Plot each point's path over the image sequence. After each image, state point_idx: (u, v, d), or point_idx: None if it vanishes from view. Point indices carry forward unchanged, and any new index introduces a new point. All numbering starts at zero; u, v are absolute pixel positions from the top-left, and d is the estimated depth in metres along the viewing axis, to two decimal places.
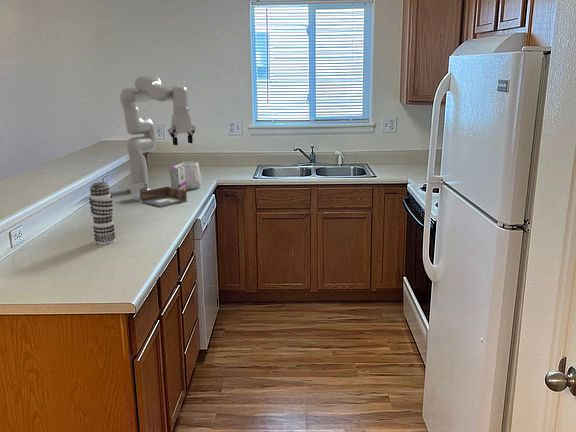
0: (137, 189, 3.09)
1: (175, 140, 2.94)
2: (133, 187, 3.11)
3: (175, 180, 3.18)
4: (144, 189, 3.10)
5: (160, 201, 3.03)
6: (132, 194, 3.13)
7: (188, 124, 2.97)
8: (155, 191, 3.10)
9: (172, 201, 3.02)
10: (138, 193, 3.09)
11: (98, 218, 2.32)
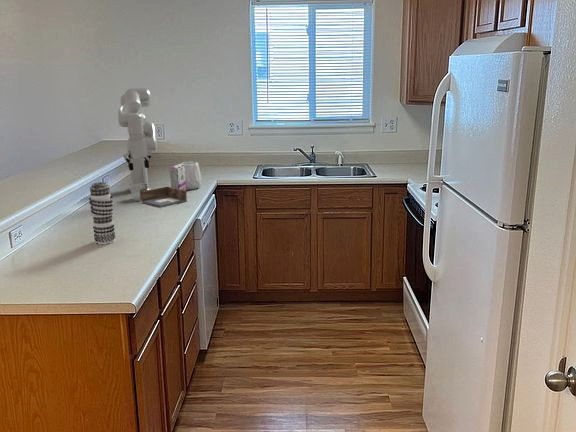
0: (137, 189, 3.09)
1: (131, 165, 3.02)
2: (133, 187, 3.11)
3: (175, 180, 3.18)
4: (144, 189, 3.10)
5: (160, 201, 3.03)
6: (132, 194, 3.13)
7: (144, 149, 3.05)
8: (155, 191, 3.10)
9: (172, 201, 3.02)
10: (138, 193, 3.09)
11: (98, 218, 2.32)
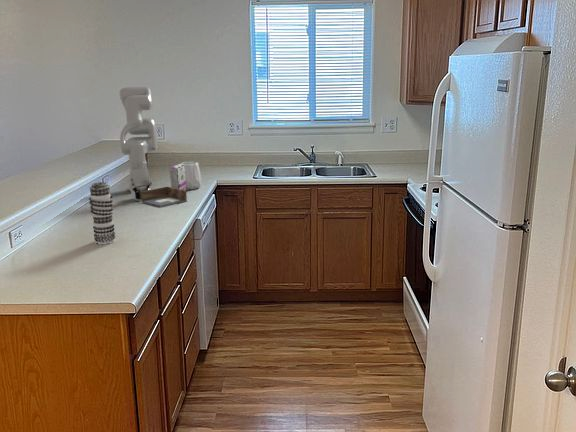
0: None
1: (137, 194, 3.08)
2: None
3: (175, 180, 3.18)
4: (144, 189, 3.10)
5: (160, 201, 3.03)
6: (132, 194, 3.13)
7: (146, 177, 3.09)
8: (155, 191, 3.10)
9: (172, 201, 3.02)
10: None
11: (98, 218, 2.32)
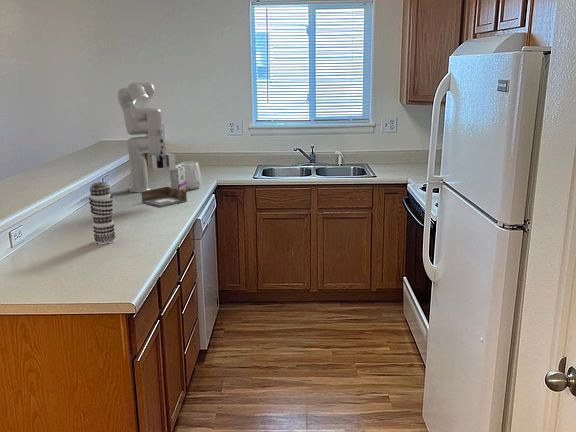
0: None
1: None
2: None
3: (175, 180, 3.18)
4: (155, 158, 2.96)
5: (160, 201, 3.03)
6: None
7: (155, 147, 2.93)
8: (155, 191, 3.10)
9: (172, 201, 3.02)
10: None
11: (98, 218, 2.32)
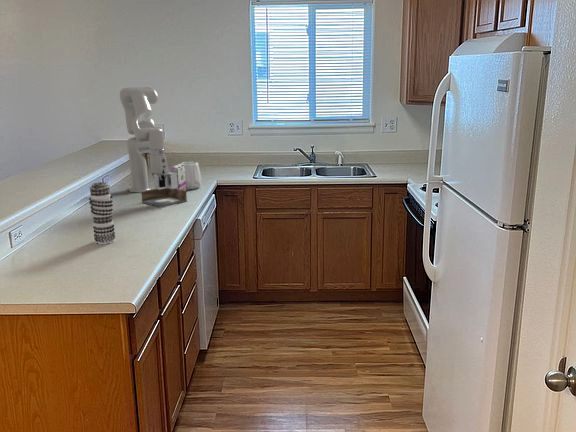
0: None
1: None
2: None
3: None
4: (157, 177, 2.99)
5: (160, 201, 3.03)
6: None
7: (157, 166, 2.96)
8: (155, 191, 3.10)
9: (172, 201, 3.02)
10: None
11: (98, 218, 2.32)
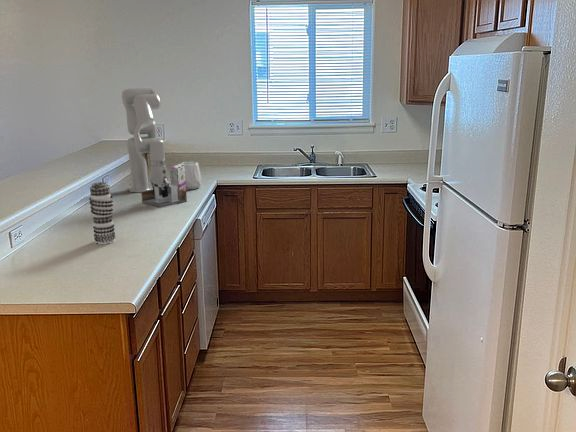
0: None
1: (154, 190, 3.05)
2: None
3: (175, 180, 3.18)
4: (157, 190, 3.01)
5: None
6: None
7: (158, 177, 2.98)
8: None
9: (172, 201, 3.02)
10: None
11: (98, 218, 2.32)
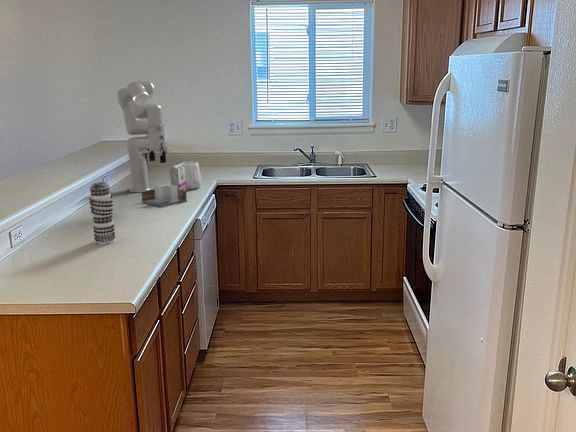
0: None
1: None
2: None
3: (175, 180, 3.18)
4: (157, 190, 3.01)
5: None
6: None
7: (155, 143, 2.93)
8: None
9: (172, 201, 3.02)
10: None
11: (98, 218, 2.32)
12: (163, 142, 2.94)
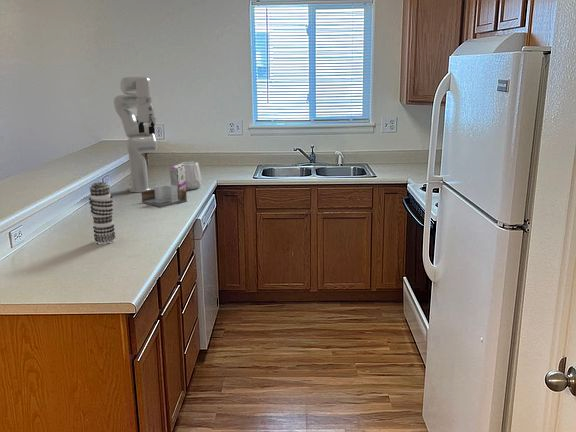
0: None
1: None
2: None
3: (175, 180, 3.18)
4: (157, 190, 3.01)
5: None
6: None
7: (144, 114, 3.00)
8: None
9: (172, 201, 3.02)
10: None
11: (98, 218, 2.32)
12: (152, 113, 3.01)
